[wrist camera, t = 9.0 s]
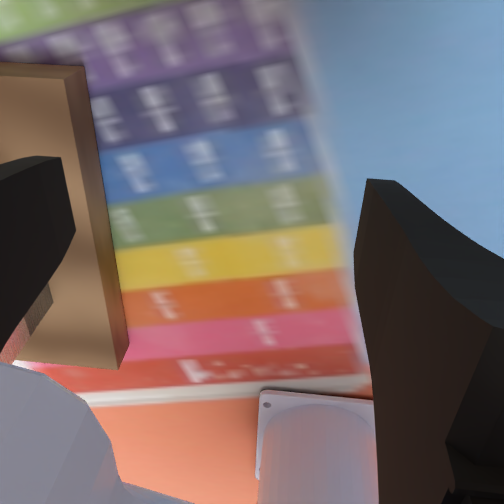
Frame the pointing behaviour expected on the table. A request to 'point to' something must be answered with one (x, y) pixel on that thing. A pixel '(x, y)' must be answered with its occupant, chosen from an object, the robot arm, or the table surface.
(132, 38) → the table surface
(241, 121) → the table surface
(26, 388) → the robot arm
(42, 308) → the block
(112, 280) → the walnut stand
